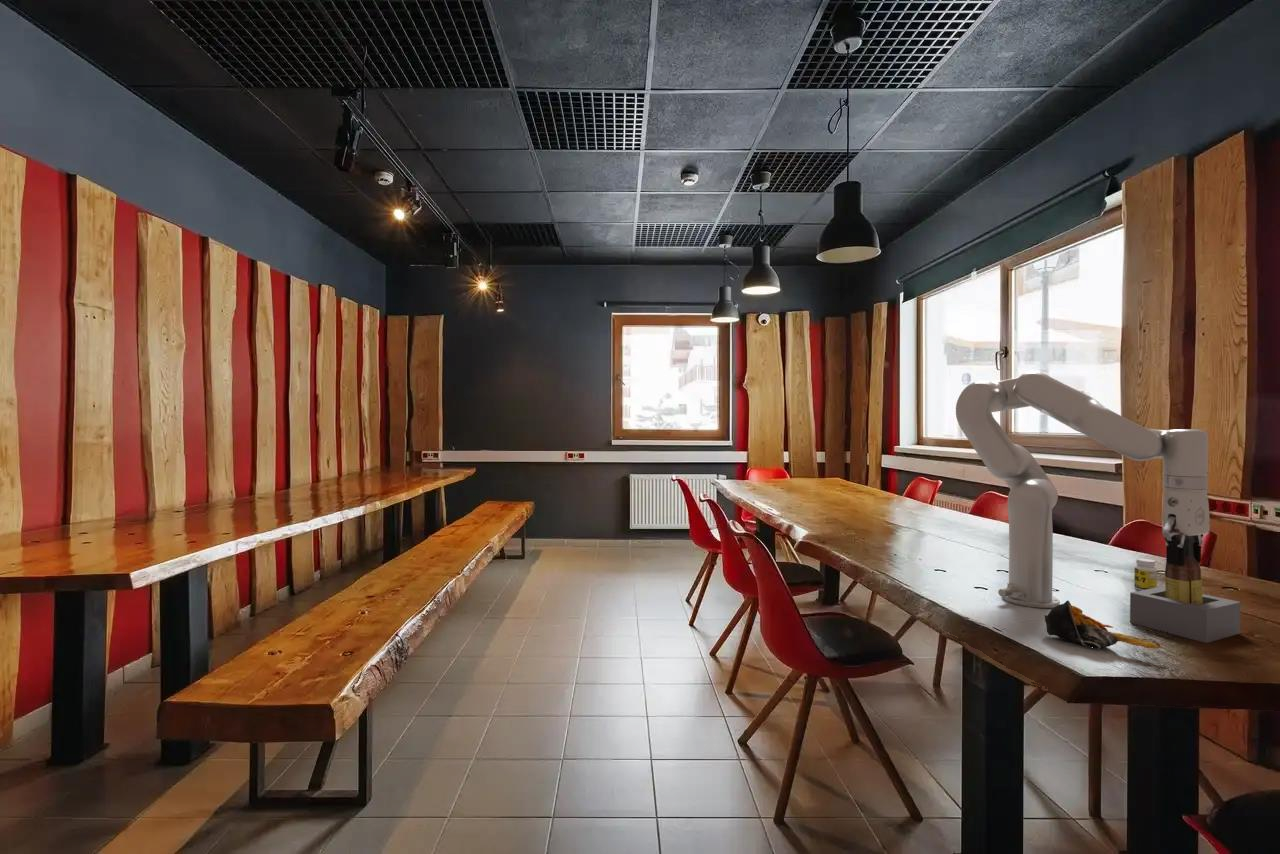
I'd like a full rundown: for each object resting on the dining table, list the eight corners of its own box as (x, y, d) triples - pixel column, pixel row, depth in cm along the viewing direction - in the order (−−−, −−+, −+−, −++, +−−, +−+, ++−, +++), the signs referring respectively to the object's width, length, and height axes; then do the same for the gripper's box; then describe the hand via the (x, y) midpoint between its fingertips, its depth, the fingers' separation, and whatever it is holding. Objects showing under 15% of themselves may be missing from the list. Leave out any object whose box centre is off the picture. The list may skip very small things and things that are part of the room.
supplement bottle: (1129, 587, 168) (1129, 558, 168) (1145, 587, 168) (1145, 557, 168) (1145, 592, 163) (1145, 562, 163) (1161, 592, 164) (1161, 561, 164)
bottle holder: (1206, 643, 126) (1206, 610, 126) (1130, 622, 139) (1130, 592, 139) (1240, 633, 132) (1240, 602, 132) (1163, 614, 145) (1164, 585, 144)
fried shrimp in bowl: (1042, 607, 135) (1140, 595, 125) (1059, 659, 130) (1162, 650, 120) (1034, 600, 129) (1137, 587, 119) (1052, 655, 124) (1161, 645, 114)
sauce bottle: (1195, 620, 137) (1197, 534, 137) (1208, 629, 131) (1209, 539, 131) (1159, 616, 140) (1160, 532, 139) (1170, 625, 134) (1171, 537, 134)
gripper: (1184, 487, 128) (1183, 570, 128) (1226, 483, 135) (1224, 563, 135) (1143, 483, 135) (1142, 563, 135) (1185, 480, 142) (1183, 556, 142)
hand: (1183, 562), depth 135 cm, fingers open, 5 cm apart
